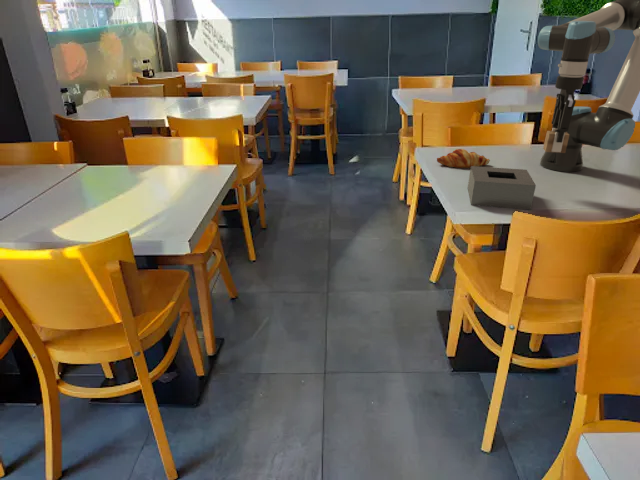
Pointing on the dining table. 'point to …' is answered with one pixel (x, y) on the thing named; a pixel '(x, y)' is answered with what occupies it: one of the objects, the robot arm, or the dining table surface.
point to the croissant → (462, 159)
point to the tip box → (501, 187)
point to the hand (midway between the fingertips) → (554, 149)
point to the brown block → (550, 140)
